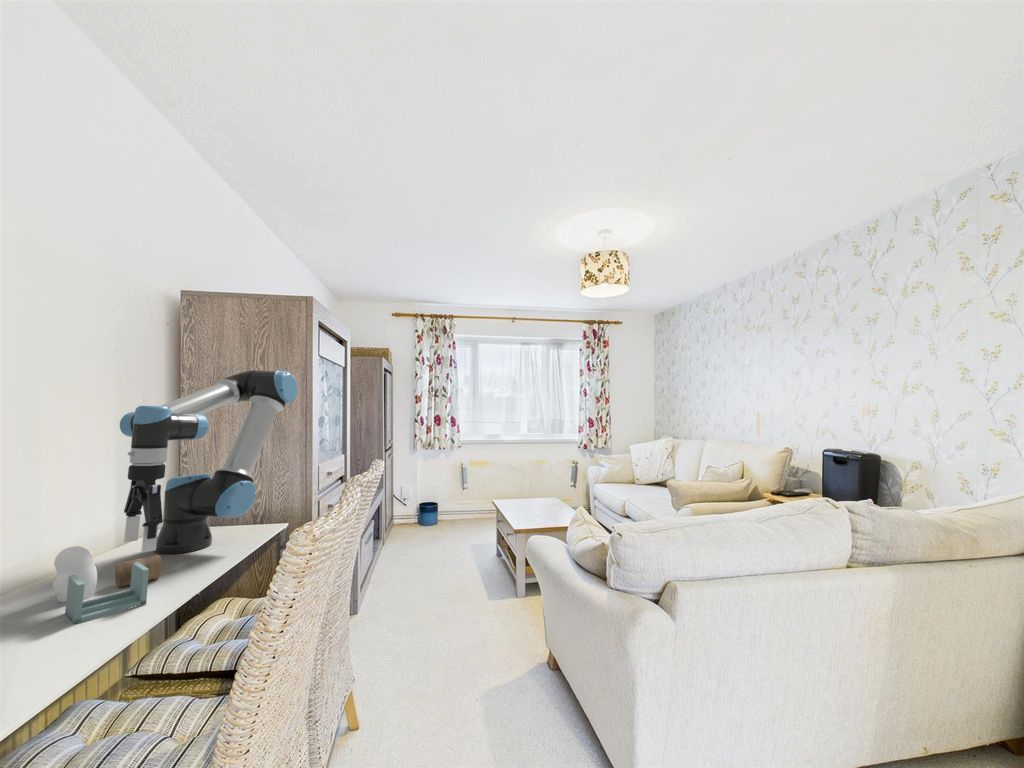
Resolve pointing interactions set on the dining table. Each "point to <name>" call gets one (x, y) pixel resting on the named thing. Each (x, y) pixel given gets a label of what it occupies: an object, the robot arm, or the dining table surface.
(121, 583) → the roll
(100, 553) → the dining table surface
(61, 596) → the figurine
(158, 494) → the robot arm
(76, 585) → the cradle
